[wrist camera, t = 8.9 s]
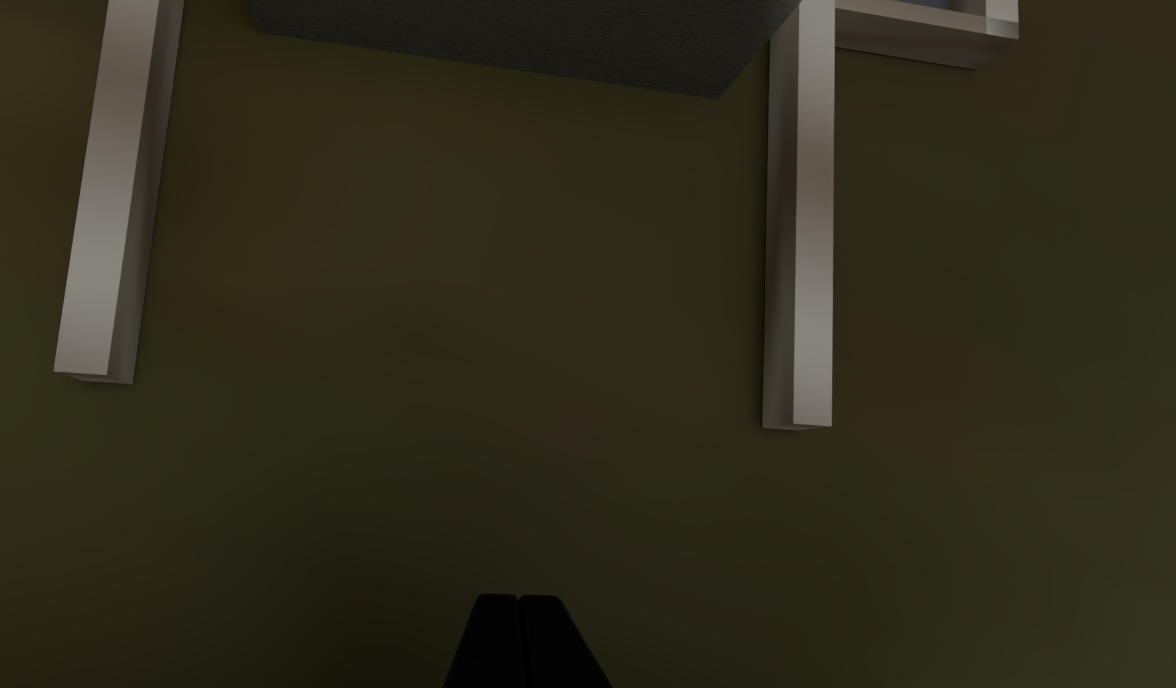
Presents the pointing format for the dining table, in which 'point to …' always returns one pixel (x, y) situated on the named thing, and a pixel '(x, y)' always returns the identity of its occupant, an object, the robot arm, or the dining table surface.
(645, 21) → the bookend
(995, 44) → the trap lane
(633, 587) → the dining table surface
